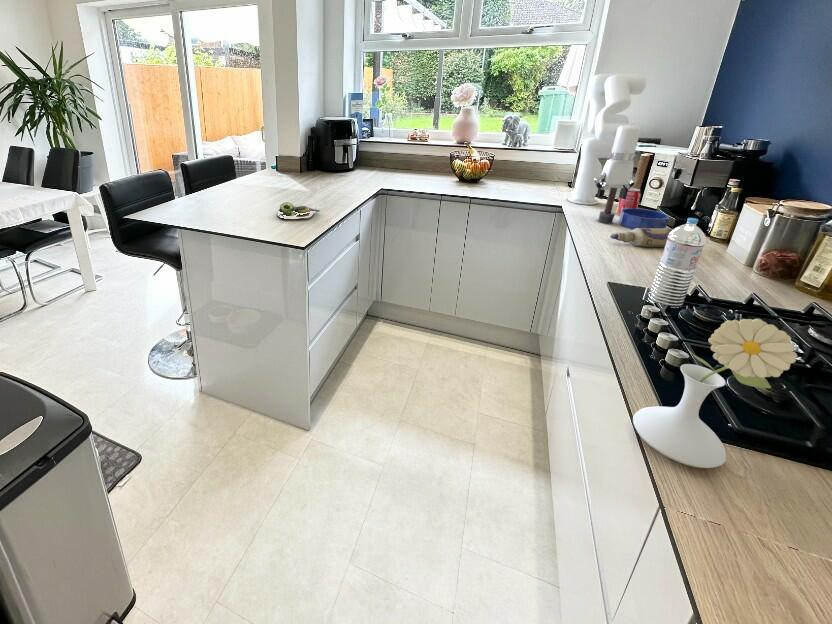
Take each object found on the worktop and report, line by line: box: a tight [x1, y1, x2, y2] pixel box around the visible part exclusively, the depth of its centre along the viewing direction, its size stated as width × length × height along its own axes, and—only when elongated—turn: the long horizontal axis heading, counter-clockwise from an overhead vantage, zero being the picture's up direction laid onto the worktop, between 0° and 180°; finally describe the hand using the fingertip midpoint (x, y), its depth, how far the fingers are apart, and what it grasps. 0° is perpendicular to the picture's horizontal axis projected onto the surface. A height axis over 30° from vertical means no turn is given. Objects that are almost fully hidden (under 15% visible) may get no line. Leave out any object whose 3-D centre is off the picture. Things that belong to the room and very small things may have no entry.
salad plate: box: [276, 201, 321, 220], centre depth 182 cm, size 19×18×5 cm
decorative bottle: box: [609, 228, 674, 248], centre depth 143 cm, size 26×8×7 cm, turn 81°
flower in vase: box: [632, 318, 798, 469], centre depth 59 cm, size 13×11×25 cm
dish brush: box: [597, 186, 618, 225], centre depth 167 cm, size 5×5×15 cm
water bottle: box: [646, 217, 707, 308], centre depth 98 cm, size 7×7×25 cm
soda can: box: [615, 187, 642, 217], centre depth 176 cm, size 7×7×12 cm
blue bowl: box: [618, 207, 670, 230], centre depth 164 cm, size 15×15×6 cm
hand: (610, 198), depth 167 cm, fingers open, 9 cm apart
